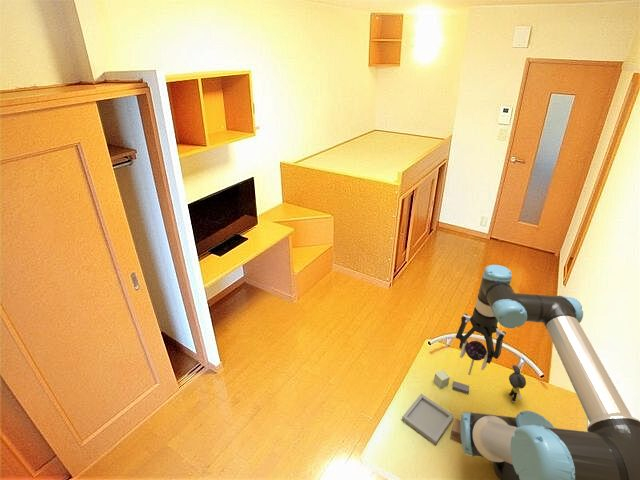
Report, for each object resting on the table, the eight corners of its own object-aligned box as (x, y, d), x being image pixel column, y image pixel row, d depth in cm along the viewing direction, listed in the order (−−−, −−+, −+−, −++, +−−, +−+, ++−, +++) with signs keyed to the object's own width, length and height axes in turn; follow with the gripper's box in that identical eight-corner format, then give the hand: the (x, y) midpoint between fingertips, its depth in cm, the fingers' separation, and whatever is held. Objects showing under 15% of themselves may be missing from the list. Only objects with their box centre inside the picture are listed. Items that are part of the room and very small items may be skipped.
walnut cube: (467, 433, 124) (470, 424, 121) (464, 445, 120) (467, 436, 117) (452, 426, 126) (455, 418, 123) (449, 438, 122) (452, 430, 119)
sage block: (447, 385, 141) (449, 376, 139) (440, 389, 140) (442, 380, 137) (440, 378, 144) (442, 369, 142) (433, 381, 143) (435, 373, 140)
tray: (453, 419, 128) (454, 415, 127) (435, 445, 120) (436, 441, 119) (420, 397, 136) (421, 393, 135) (401, 420, 128) (402, 416, 127)
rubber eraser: (468, 389, 140) (469, 385, 139) (468, 395, 137) (469, 391, 136) (452, 384, 142) (453, 380, 141) (452, 390, 139) (452, 386, 139)
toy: (522, 408, 132) (534, 381, 124) (508, 408, 132) (518, 381, 125) (512, 389, 139) (522, 363, 132) (498, 389, 139) (508, 362, 132)
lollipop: (476, 367, 127) (485, 336, 120) (481, 383, 121) (491, 351, 114) (456, 366, 128) (464, 335, 121) (461, 381, 122) (470, 350, 115)
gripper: (524, 318, 107) (506, 371, 118) (462, 291, 119) (450, 341, 130) (516, 331, 102) (498, 384, 113) (452, 301, 114) (441, 352, 125)
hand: (472, 361), depth 122 cm, fingers closed on lollipop, 7 cm apart
